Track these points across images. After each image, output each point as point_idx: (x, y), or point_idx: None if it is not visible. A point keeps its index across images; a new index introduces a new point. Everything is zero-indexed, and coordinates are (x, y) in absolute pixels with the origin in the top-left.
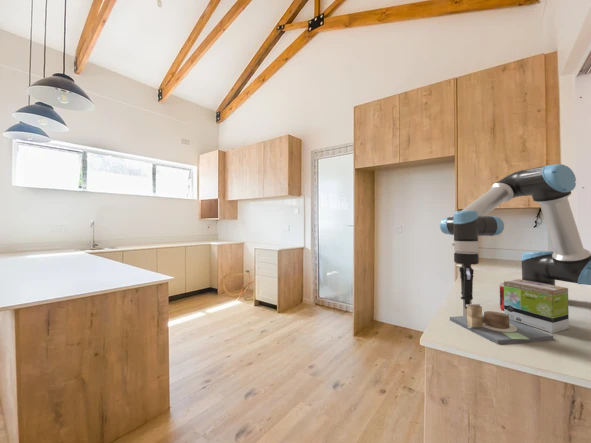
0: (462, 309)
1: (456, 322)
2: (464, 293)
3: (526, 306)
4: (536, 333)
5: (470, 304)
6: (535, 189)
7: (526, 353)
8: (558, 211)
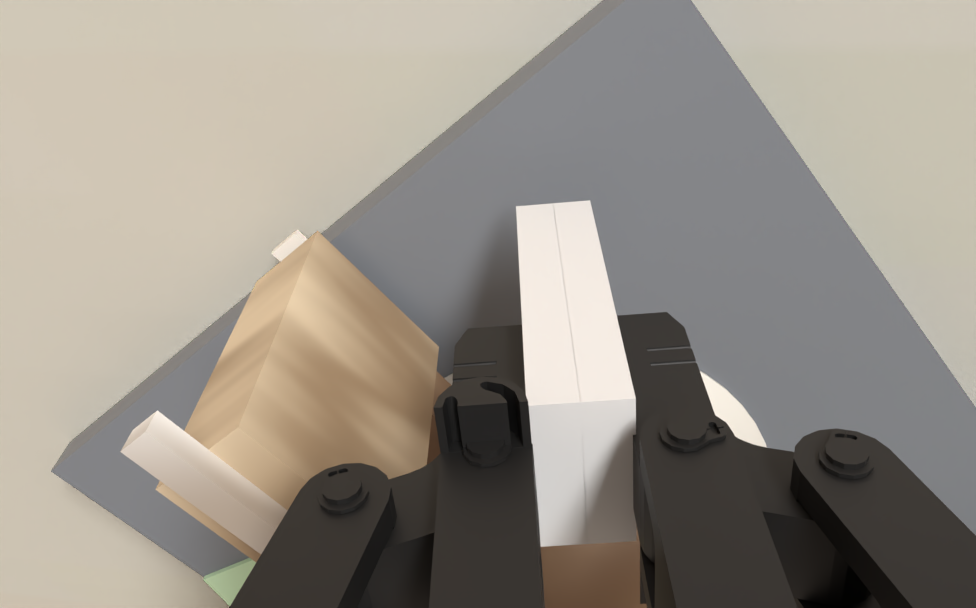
0: (590, 254)
1: (530, 66)
2: (234, 603)
3: None
4: None
5: (233, 500)
6: None
7: (33, 591)
8: None
